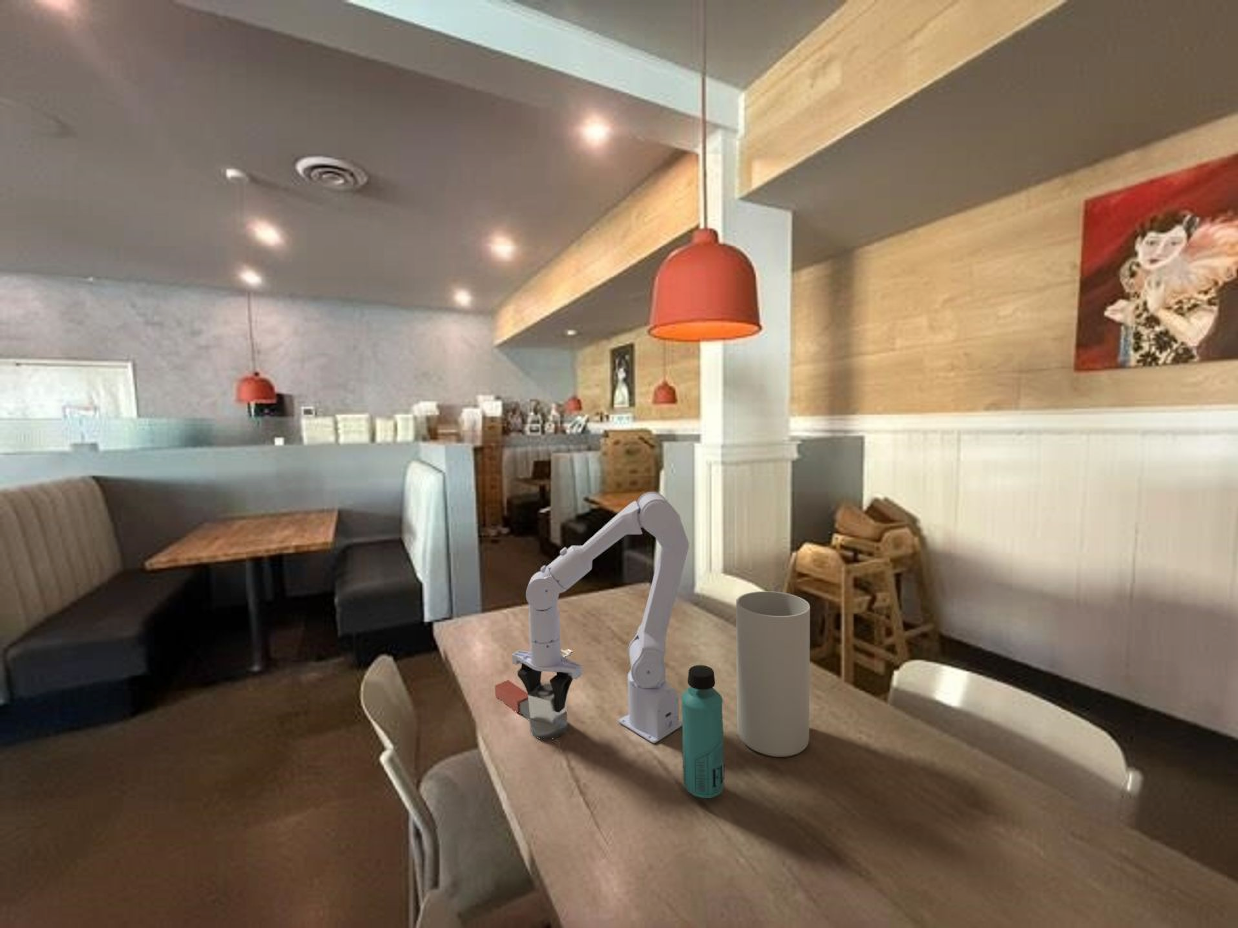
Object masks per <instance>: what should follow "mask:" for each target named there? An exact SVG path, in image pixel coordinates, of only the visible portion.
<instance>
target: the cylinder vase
mask: <svg viewBox="0 0 1238 928" xmlns="http://www.w3.org/2000/svg"><path fill="white" fill-rule="evenodd" d="M735 604H736V605H735V606H736V607H735V608H736V611H735V613H736V616H735V619H736V620H735V621H736V624H735V625H736V626H735V627H736V630H735V632H736V634H735V635H736V732H737V734H738V736H739V738H740V740H741V741H742V742H743V743H744V744H745V745H746V746H747V747H748V748H750V749H751V750H753V751H755V752H757V753H759V754H762V755H766V756H770V757H774V758H775V757H776V758H777V757H778V758H783V757H791V756H795V755H798V754H800V753H801V752H803V751H804V750H805V749H806V748H807V746H808V745H809V742H810V670H811V669H810V668H811V667H810V665H811V664H810V663H811V662H810V660H811V659H810V654H811V653H810V650H811V649H810V648H811V647H810V646H811V645H810V644H811V640H810V639H811V638H810V637H811V631H810V630H811V622H810V621H811V606H810V603H809V602H808V601H807V600H805V599H804V598H802V597H799V596H798V595H795V594H791V593H786V592H780V591H772V590H770V591H769V590H762V591H760V590H759V591H751V592H747V593H744V594H741V595H740V596H737V598H736V601H735Z"/></svg>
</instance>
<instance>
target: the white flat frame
mask: <svg viewBox="0 0 1238 928" xmlns="http://www.w3.org/2000/svg"><path fill="white" fill-rule="evenodd" d="M563 652H564V653H563ZM571 652H572V653H573V652H574V651H573V650H572V649H569V648H568V649H565V650H564V649H563V648H561V653H563V655H562V656H563V657H565V656H566V657H569V656H570V655H571V654H572V653H571ZM566 657H565V658H566Z"/></svg>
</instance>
